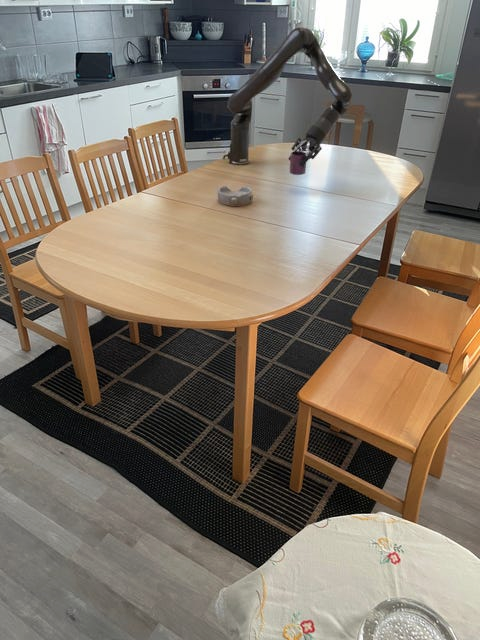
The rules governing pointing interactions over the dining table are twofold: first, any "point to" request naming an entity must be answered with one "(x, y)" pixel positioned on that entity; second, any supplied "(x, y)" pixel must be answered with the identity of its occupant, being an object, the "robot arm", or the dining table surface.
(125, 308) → the dining table surface
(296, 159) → the cup
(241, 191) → the dish
